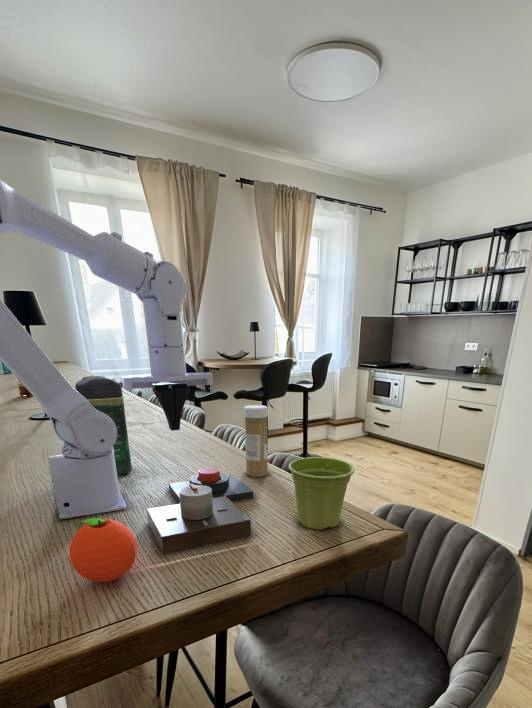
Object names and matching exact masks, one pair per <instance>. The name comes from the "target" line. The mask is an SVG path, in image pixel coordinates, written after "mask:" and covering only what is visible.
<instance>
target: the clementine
mask: <svg viewBox="0 0 532 708" xmlns="http://www.w3.org/2000/svg"><path fill="white" fill-rule="evenodd" d="M83 523H85V524H84V525H83ZM82 525H83V526H82ZM81 526H82V527H81ZM137 545H138V544H137V540H136V537H135V535H134V534H133V532H132V531H131V530H130V529H129V528H128V527H127V526H126V525H125V524H123V523H122V522H120V521H117V520H114V519H110V518H100V517H99V518H98V517H90V518H88V519H84V520H83V521H80V522H79V523H78V524H77V531H76V532H75V534H74V535H73V536H72V538H71V541H70V545H69V548H68V556H69V560H70V563H71V565H72V567H73V569H74V570H75V571H76V573H77V574H78V575H80V576H81V577H83V578H84V579H86V580H87V581H88V580H89V581H91V582H96V583H108V582H112V581H113V582H114V581H115V580H117V579H120V578H121V577H122V576H124V575H125V574H126V573H128V572H129V571H130V569H131V568H132V567H133V565H134V563H135V561H136V557H137V555H138V546H137Z"/></svg>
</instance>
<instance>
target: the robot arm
mask: <svg viewBox="0 0 532 708" xmlns="http://www.w3.org/2000/svg"><path fill="white" fill-rule="evenodd" d="M10 233H21V234H23V235H25V236H28V237H30V238H32V239H35V240H37V241H40V242H42V243H44V244H46V245H47V246H48V245H49V246H51V247H54V248H56V249H58V250H60V251H62V252H64V253H67V254H69V255H71V256H74V257H76V258H79V259H80V260H83V261H84V262H85V263H86V265H87V266H88V268H89V270H90V272H91V273H92V274H93V276H96V277H98V278H100V279H102V280H104V281H106V282H109V283H110V284H113V285H115V286H118V287H119V288H122V289H124V290H126V291H128V292H130V293H132V294H135V295H136V297H137V298H138V300H140V301H141V303H142V306H143V307H142V308H143V315H144V324H145V334H146V341H147V351H148V358H149V368H150V374H139V375H124V376H122V381H123V382H122V383H123V389H124V390H126V391H129V390H137V389H151V390H152V392H153V394H154V396H155V397H156V398H157V401H158V402H159V404H160V406H161V408H162V410H163V413H164V416H165V419H166V421H167V425H168V428H169V430H170V431H180V430H181V421H182V414H183V410H184V407H185V404H186V401H187V399H188V397H189V394H190V388H189V386H204V385H205V386H213V385H214V377H213V376H214V375H213V373H212V372H187V365H186V353H185V340H184V329H183V318H182V317H183V316H182V312H183V307H182V306H183V305H182V304H183V303H182V302H183V300H184V298H185V296H186V295H187V289H188V284H187V282H184V277H183V275H182V272H180V270H179V268H178V267H177V266H175V264H173V263H172V262H170V261H165V260H162V261H156V259H155V258H154V254H153V253H151V252H150V251H145V252H143V251H141V250H139V249H137V248H136V247H134V246H132V245H130V244H129V243H126V242H125V241H123V238H124V237H123V235H121V234H120V233H118V232H116V231H113V232H111V233H108V232H107V231H101V232H99V233H98V234H95V235H92V234H90V233H89V232H88V231H86V230H84V229H82V228H80V227H79V226H77V225H75V224H74V223H72V222H71V221H69V220H67V219H65V218H64V217H62V216H60V215H58V214H57V213H55V212H54V211H51V210H50V209H48V208H47V207H45V206H44V205H41V204H40V203H38V202H36V201H35V200H33V199H31V198H29V197H28V196H26V195H25V194H22V193H21V192H19V191H18V190H16V189H14V188H13V187H12V186H10V185H9V184H7V183H6V182H4V181H3V180H2V179H0V234H10ZM0 361H1V362H2V363H3V364H4V366H5V367H6V368H7V369H8V370H9V371H10V372H11V373H12V375H14V376H15V378H16V379H17V380H18V381H19V382H20V384H22V386H24V387H25V389H26V390H27V391H28V392H29V393H30V395H31V396H32V397H34V399H35V400H36V401H37V402H38V403H39V405H40V406H41V409H42V411H43V412H44V414H45V415H46V416H47V417H48V418H49V419H50V421H51V423H52V428H53V431H54V433H55V435H56V436H57V437H58V438H59V440H61V441H62V442H63V445H62V448H61V454H57V455H50V456H48V457H47V458H48V466H49V472H50V478H51V484H52V487H53V492H52V496H53V501H54V504H55V505H56V507H57V512H58V518H59V520H65V519H66V520H67V519H73V518H79V517H85V516H91V515H97V514H104V513H109V512H116V511H122V510H126V509H127V505H126V502H125V500H124V497H123V494H122V493H121V491H120V486H119V478H118V476H117V471H116V464H115V457H114V450H113V445H114V444H115V442H116V439H117V428H116V425H115V423H114V421H113V420H112V419H111V418H110V417H109V416H108V415H106V414H104V413H102V412H100V411H98V410H96V409H95V408H94V407H93V406H92V405H91V403H90V402H89V401H88V400H87V399H86V398H85V397H83V396H82V395H81V394H80V393H79V392H78V391H76V388H75V387H73V386H72V385H71V383H70V382H69V381H68V380H67V379H66V377H65V376H64V375H63V373H62V372H61V371H60V369H58V368H57V366H56V365H55V364H54V362H53V361H52V360H51V359H50V358H49V357H48V355H47V354H46V353H45V351H44V350H43V349H42V348H41V346H40V345H39V344H38V343H37V342H36V341H35V339H34V338H33V337H32V336H31V334H30V333H29V332H28V331H27V329H26V328H25V327H24V326H23V324H22V323H21V322H20V321H19V320H18V319H17V317H16V316H15V315H14V314H13V312H12V311H11V310H10V308H9V307H8V306H7V305H6V304H5V302H3V301H2V299H1V298H0ZM171 382H172V383H171Z"/></svg>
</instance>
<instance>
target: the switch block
mask: <svg viewBox="0 0 532 708" xmlns="http://www.w3.org/2000/svg"><path fill="white" fill-rule="evenodd" d="M192 483H193V484H194V485H203V486H208V487H210V488H211V489H212V498H217V497H223V496H226V497H227V498H228V499H229V500H230V501H231V502H232V503H234V502H238V501H243V500H250V499H254V491H253V489H251V488H250V487H248V486H247V485H246V484H245V483H244V482H242V481H241V480H240V479H238V478H237V477H236V476H234V475H233V474H228V475H227V474H226V473H222V472H220V480H218V481H215V482H201V481H199V474H198V473H197V474H194V475H191V477H190V478H189V480H185V481H179V482H172V483H171V482H170V483H168V491H169V492H170V493H171V495H172V496H173V498H174V499H175V500H176V502H177V504H180V495H179V491H180V490H181V489H182V488H184V487H187V486H189V484H192Z"/></svg>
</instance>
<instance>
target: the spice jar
mask: <svg viewBox="0 0 532 708" xmlns="http://www.w3.org/2000/svg"><path fill="white" fill-rule="evenodd" d="M243 417H244V445H245V447H244V449H245V462H246V463H245V464H246V465H245V466H246V467H245V468H246V469H245V474H246V475H247V476H249V477H253V478H260V477H265V476H267V475H268V474H269V469H268V467H269V466H268V459H269V451H268V448H269V447H268V445H269V444H268V417H269V408H268V406H267V405H261V404H251V405H245V406H244V407H243Z"/></svg>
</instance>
